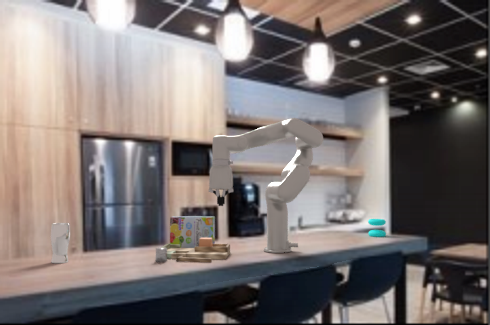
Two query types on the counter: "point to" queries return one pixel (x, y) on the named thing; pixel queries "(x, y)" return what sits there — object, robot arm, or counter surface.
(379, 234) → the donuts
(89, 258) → the counter surface
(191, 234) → the snack box
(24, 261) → the counter surface
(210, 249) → the wooden tray
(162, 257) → the can
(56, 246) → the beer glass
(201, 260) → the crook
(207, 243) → the cube
